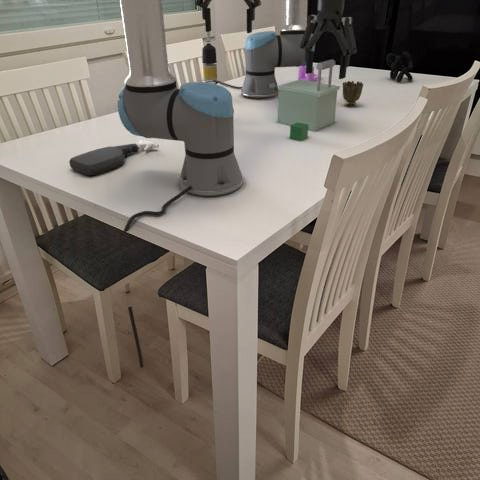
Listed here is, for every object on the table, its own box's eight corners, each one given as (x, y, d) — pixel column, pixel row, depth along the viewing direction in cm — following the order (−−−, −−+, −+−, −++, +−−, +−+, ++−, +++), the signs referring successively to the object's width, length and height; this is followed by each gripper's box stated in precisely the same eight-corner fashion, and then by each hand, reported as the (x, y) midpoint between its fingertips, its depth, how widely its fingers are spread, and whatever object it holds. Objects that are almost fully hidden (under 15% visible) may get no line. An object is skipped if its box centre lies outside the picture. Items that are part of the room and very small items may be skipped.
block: (307, 137, 138) (308, 124, 136) (300, 140, 135) (301, 127, 133) (296, 134, 140) (297, 122, 138) (289, 138, 138) (290, 125, 135)
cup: (337, 106, 166) (340, 84, 162) (343, 101, 171) (346, 79, 167) (357, 108, 163) (360, 86, 159) (363, 103, 168) (365, 81, 164)
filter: (220, 99, 177) (217, 15, 161) (206, 100, 176) (202, 16, 160) (215, 96, 182) (212, 14, 166) (202, 97, 180) (197, 14, 164)
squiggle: (400, 92, 202) (376, 71, 205) (417, 76, 202) (392, 56, 205) (405, 81, 191) (380, 59, 194) (423, 64, 191) (397, 42, 194)
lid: (339, 89, 144) (342, 59, 139) (319, 97, 137) (321, 65, 132) (299, 82, 153) (301, 53, 148) (278, 89, 146) (279, 59, 141)
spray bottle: (67, 168, 120) (139, 144, 136) (91, 178, 114) (163, 151, 130) (65, 157, 118) (137, 134, 134) (89, 167, 112) (162, 142, 128)
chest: (334, 122, 150) (337, 89, 145) (314, 131, 143) (317, 96, 137) (297, 114, 159) (299, 82, 153) (277, 122, 151) (278, 89, 146)
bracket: (309, 83, 198) (310, 66, 194) (298, 81, 200) (299, 65, 197) (323, 78, 206) (324, 62, 203) (312, 76, 209) (313, 60, 205)
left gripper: (272, -51, 127) (270, 31, 138) (192, -49, 134) (197, 29, 145) (264, -51, 121) (263, 34, 132) (181, -49, 128) (187, 32, 139)
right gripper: (375, -4, 123) (365, 78, 135) (304, -6, 137) (300, 69, 148) (362, -2, 118) (353, 83, 130) (290, -5, 132) (287, 72, 143)
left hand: (228, 32), depth 139 cm, fingers open, 13 cm apart
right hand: (325, 75), depth 139 cm, fingers open, 11 cm apart
